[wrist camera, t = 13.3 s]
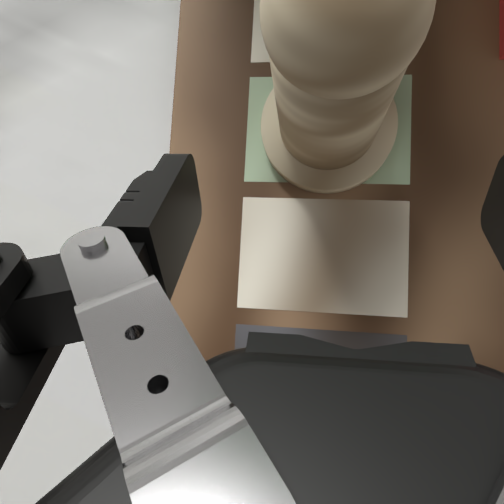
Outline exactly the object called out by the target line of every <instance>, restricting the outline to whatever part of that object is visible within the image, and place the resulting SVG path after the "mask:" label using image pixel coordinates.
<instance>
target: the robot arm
mask: <svg viewBox="0 0 504 504" xmlns="http://www.w3.org/2000/svg"><path fill="white" fill-rule="evenodd" d="M201 216H202V204H201V197H200V191H199V185H198V179H197V173H196V167H195V161H194V158H193V156H192V154H164V155H163V156H162V158H161V159H160V161H159V162H158V164H157V165H156V167H155V169H154V170H153V171H146V172H145V173H143V174H142V175H140V176H139V177H137V178H136V179H134V180H133V182H132V183H131V184H130V186H129V187H128V189H127V190H126V193H124V194H123V196H122V197H121V199H120V201H119V202H118V203H117V204H116V206H115V207H114V209H113V210H112V212H111V213H110V214H109V216H108V217H107V219H106V220H105V222H104V223H103V224H102V226H100V227H93V228H89V229H86V230H83V231H81V232H79V233H77V234H75V235H73V236H72V237H71V238H69V239H68V240H67V241H66V242H65V243H64V244H63V246H62V248H61V250H60V254H56V255H51V256H45V257H40V258H34V259H28V260H27V258H26V257H25V255H24V253H23V251H22V249H21V248H20V247H19V246H18V245H16V244H13V243H0V470H1V468H2V466H3V464H4V462H5V460H6V458H7V456H8V454H9V452H10V450H11V448H12V446H13V445H14V443H15V441H16V439H17V437H18V435H19V433H20V431H21V429H22V427H23V425H24V423H25V421H26V419H27V418H28V416H29V414H30V412H31V410H32V408H33V406H34V404H35V402H36V400H37V398H38V396H39V394H40V392H41V390H42V389H43V387H44V385H45V383H46V381H47V379H48V377H49V375H50V373H51V371H52V369H53V367H54V365H55V363H56V361H57V360H58V358H59V356H60V354H61V352H62V350H63V348H64V346H65V345H66V344H70V343H75V342H80V341H84V342H85V345H86V348H87V352H88V355H89V358H90V361H91V364H92V367H93V371H94V374H95V377H96V380H97V383H98V386H99V389H100V393H101V396H102V399H103V402H104V405H105V408H106V411H107V415H108V418H109V421H110V424H111V427H112V430H113V434H114V437H113V438H112V439H110V440H109V441H108V442H107V443H106V444H105V445H103V446H102V447H101V448H100V449H99V450H98V451H96V452H95V453H94V454H93V455H92V456H90V457H89V458H88V459H87V460H86V461H85V462H83V463H82V464H81V465H80V466H79V467H78V468H76V469H75V470H74V471H73V472H72V473H71V474H69V475H68V476H67V477H66V478H65V479H64V480H62V481H61V482H60V483H59V484H58V485H57V486H55V487H54V488H53V489H52V490H51V491H50V492H48V493H47V494H46V495H45V496H44V497H43V498H41V499H40V500H39V501H38V502H37V503H36V504H504V373H502V372H500V371H498V370H495V369H493V368H490V367H487V366H484V365H481V364H478V363H475V360H474V357H473V354H472V352H471V349H470V346H469V345H467V344H450V343H433V342H417V341H410V342H404V343H397V344H391V345H384V346H378V347H371V348H365V349H352V348H347V347H344V346H340V345H336V344H333V343H329V342H325V341H322V340H318V339H314V338H311V337H307V336H303V335H298V334H281V333H264V332H249V333H248V339H247V345H246V347H245V348H239V349H235V350H231V351H228V352H225V353H222V354H220V355H217V356H214V357H213V358H211V359H209V360H207V361H205V359H204V358H203V356H202V354H201V353H200V351H199V349H198V347H197V346H196V344H195V342H194V341H193V339H192V337H191V336H190V334H189V332H188V331H187V329H186V327H185V326H184V324H183V322H182V321H181V319H180V317H179V315H178V314H177V312H176V310H175V309H174V307H173V305H172V304H171V302H170V300H171V298H172V295H173V293H174V290H175V287H176V285H177V282H178V280H179V277H180V274H181V272H182V269H183V267H184V264H185V261H186V259H187V256H188V254H189V251H190V248H191V246H192V243H193V241H194V238H195V235H196V233H197V230H198V228H199V225H200V222H201ZM481 227H482V230H483V232H484V234H485V236H486V238H487V240H488V242H489V244H490V246H491V248H492V250H493V252H494V254H495V255H496V257H497V259H498V261H499V263H500V265H501V267H502V269H503V271H504V155H503V156H502V157H501V158H500V160H499V162H498V164H497V167H496V170H495V172H494V175H493V178H492V181H491V184H490V187H489V189H488V192H487V195H486V198H485V201H484V204H483V207H482V210H481Z"/></svg>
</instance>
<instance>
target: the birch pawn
mask: <svg viewBox="0 0 504 504" xmlns="http://www.w3.org/2000/svg"><path fill="white" fill-rule="evenodd" d="M435 5H436V0H260V26H261V32H262V36H263V40H264V43H265V47H266V50H267V52H268V54H269V60H270V66H271V73H272V80H273V87H274V88H273V89H272V91H271V92H270V94H269V96H268V98H267V100H266V102H265V105H264V108H263V111H262V116H261V136H262V141H263V145H264V148H265V151H266V154H267V157H268V159H269V161H270V163H271V164H272V166H273V168H274V169H275V170H276V171H277V172H278V174H279V175H280V176H281V177H283V178H284V179H285V180H286V181H288V182H289V183H290V184H292V185H294V186H296V187H298V188H300V189H303V190H305V191H309V192H313V193H321V194H332V193H339V192H343V191H347V190H350V189H352V188H355V187H357V186H359V185H361V184H362V183H364V182H365V181H367V180H368V179H369V178H371V177H372V176H373V175H374V174H375V173H376V172H377V171H378V170H379V168H380V167H381V166H382V164H383V163H384V162H385V160H386V158H387V157H388V155H389V153H390V151H391V150H392V147H393V145H394V142H395V139H396V135H397V130H398V113H397V108H396V104H395V101H394V96H395V93H396V91H397V89H398V87H399V85H400V83H401V80H402V78H403V76H404V74H405V72H406V70H407V67H408V65H409V64H410V63H411V61H412V60H413V59H414V57H415V56H416V54H417V53H418V51H419V49H420V48H421V46H422V44H423V42H424V41H425V39H426V36H427V33H428V31H429V28H430V26H431V23H432V20H433V15H434V11H435Z"/></svg>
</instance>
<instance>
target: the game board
mask: <svg viewBox="0 0 504 504" xmlns="http://www.w3.org/2000/svg"><path fill="white" fill-rule="evenodd" d="M273 88H274V87H273V80H272V73H271V66H270V60H269V54H268V52H267V50H266V47H265V43H264V40H263V36H262V32H261V26H260V0H181V5H180V19H179V32H178V46H177V59H176V73H175V86H174V100H173V113H172V127H171V140H170V154H192V156H193V158H194V161H195V167H196V173H197V179H198V185H199V191H200V197H201V204H202V216H201V222H200V225H199V228H198V230H197V233H196V235H195V238H194V241H193V243H192V246H191V248H190V251H189V254H188V256H187V259H186V261H185V264H184V267H183V269H182V272H181V274H180V277H179V280H178V282H177V285H176V287H175V290H174V293H173V295H172V298H171V300H170V302H171V304H172V305H173V307H174V309H175V310H176V312H177V314H178V315H179V317H180V319H181V321H182V322H183V324H184V326H185V327H186V329H187V331H188V332H189V334H190V336H191V337H192V339H193V341H194V342H195V344H196V346H197V347H198V349H199V351H200V353H201V354H202V356H203V358H204V359H205V361H207V360H209V359H211V358H213V357H214V356H217V355H220V354H222V353H225V352H228V351H231V350H235V349H239V348H245V347H246V345H247V339H248V333H249V332H264V333H281V334H298V335H303V336H307V337H311V338H314V339H318V340H322V341H325V342H329V343H333V344H336V345H340V346H344V347H347V348H352V349H365V348H371V347H378V346H384V345H391V344H397V343H404V342H410V341H417V342H433V343H450V344H467V345H469V346H470V349H471V352H472V354H473V357H474V360H475V363H478V364H481V365H484V366H487V367H490V368H493V369H495V370H498V371H500V372H502V373H504V271H503V269H502V267H501V265H500V263H499V261H498V259H497V257H496V255H495V254H494V252H493V250H492V248H491V246H490V244H489V242H488V240H487V238H486V236H485V234H484V232H483V230H482V227H481V210H482V207H483V204H484V201H485V198H486V195H487V192H488V189H489V187H490V184H491V181H492V178H493V175H494V172H495V170H496V167H497V164H498V162H499V160H500V158H501V157H502V156H503V155H504V60H499V0H436V5H435V11H434V15H433V20H432V23H431V26H430V28H429V31H428V33H427V36H426V39H425V41H424V42H423V44H422V46H421V48H420V49H419V51H418V53H417V54H416V56H415V57H414V59H413V60H412V61H411V63H410V64H409V65H408V67H407V70H406V72H405V74H404V76H403V78H402V80H401V83H400V85H399V87H398V89H397V91H396V93H395V96H394V101H395V104H396V108H397V113H398V130H397V135H396V139H395V142H394V145H393V147H392V150H391V151H390V153H389V155H388V157H387V158H386V160H385V162H384V163H383V164H382V166H381V167H380V168H379V170H378V171H377V172H376V173H375V174H374V175H373V176H372V177H371V178H369V179H368V180H367V181H365V182H364V183H362V184H361V185H359V186H357V187H355V188H352V189H350V190H347V191H343V192H339V193H332V194H321V193H313V192H309V191H305V190H303V189H300V188H298V187H296V186H294V185H292V184H290V183H289V182H288V181H286V180H285V179H284V178H283V177H281V176H280V175H279V174H278V172H277V171H276V170H275V169H274V168H273V166H272V164H271V163H270V161H269V159H268V157H267V154H266V151H265V148H264V145H263V141H262V136H261V116H262V111H263V108H264V105H265V102H266V100H267V98H268V96H269V94H270V92H271V91H272V89H273Z"/></svg>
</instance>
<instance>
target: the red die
mask: <svg viewBox="0 0 504 504" xmlns="http://www.w3.org/2000/svg"><path fill="white" fill-rule="evenodd" d="M499 60H504V0H499Z"/></svg>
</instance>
